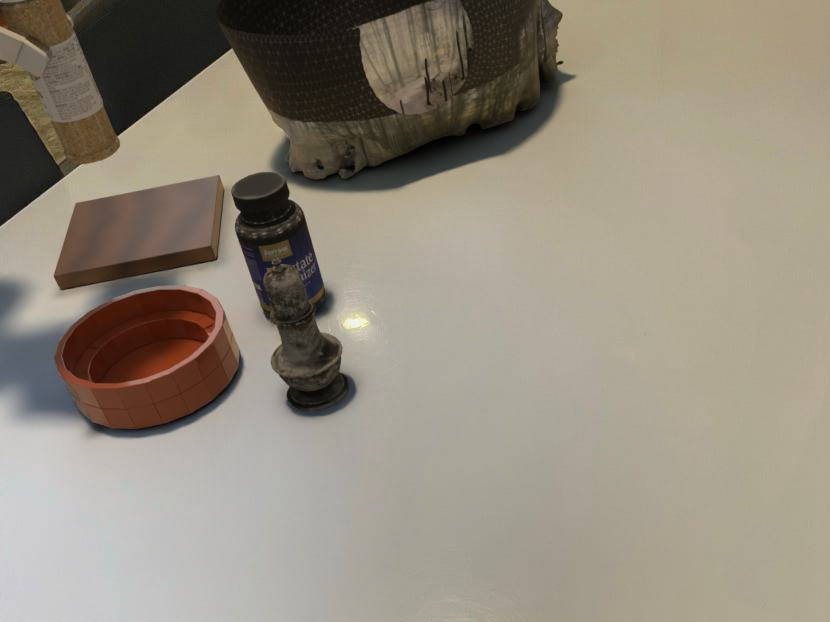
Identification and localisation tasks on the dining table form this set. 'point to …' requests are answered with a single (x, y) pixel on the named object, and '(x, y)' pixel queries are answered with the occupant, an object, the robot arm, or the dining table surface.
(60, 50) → the sprinkles bottle
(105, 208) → the board
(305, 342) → the grey stone chess piece
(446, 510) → the dining table surface
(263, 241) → the pill bottle
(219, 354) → the bowl
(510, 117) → the basket
